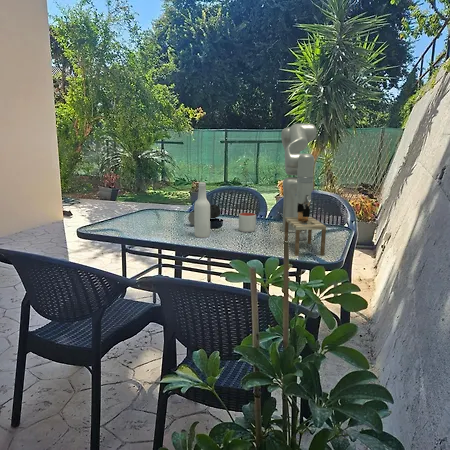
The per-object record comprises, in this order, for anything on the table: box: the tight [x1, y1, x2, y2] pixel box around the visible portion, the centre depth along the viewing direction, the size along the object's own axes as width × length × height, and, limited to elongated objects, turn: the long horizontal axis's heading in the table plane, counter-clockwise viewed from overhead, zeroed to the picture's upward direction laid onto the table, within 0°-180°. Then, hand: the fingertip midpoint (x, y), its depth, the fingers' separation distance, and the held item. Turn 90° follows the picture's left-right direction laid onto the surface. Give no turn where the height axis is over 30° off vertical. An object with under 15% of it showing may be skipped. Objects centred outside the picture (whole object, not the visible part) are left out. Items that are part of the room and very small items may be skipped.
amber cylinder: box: [298, 212, 308, 242], centre depth 199 cm, size 5×5×14 cm
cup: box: [238, 212, 257, 233], centre depth 235 cm, size 10×10×10 cm
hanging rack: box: [283, 216, 327, 257], centre depth 197 cm, size 22×14×14 cm, turn 5°
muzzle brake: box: [187, 204, 222, 226], centre depth 256 cm, size 10×28×10 cm, turn 154°
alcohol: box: [193, 181, 211, 239], centre depth 220 cm, size 9×9×30 cm
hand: (303, 214), depth 198 cm, fingers open, 9 cm apart
